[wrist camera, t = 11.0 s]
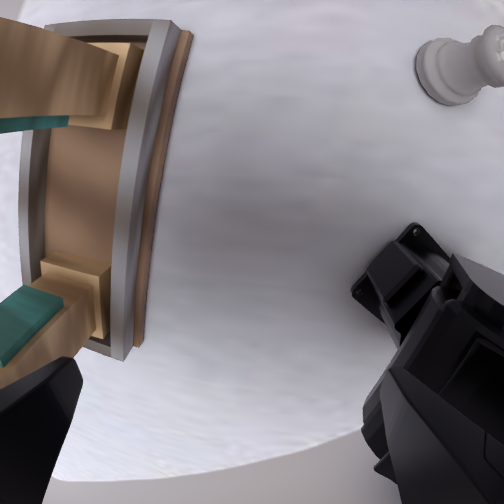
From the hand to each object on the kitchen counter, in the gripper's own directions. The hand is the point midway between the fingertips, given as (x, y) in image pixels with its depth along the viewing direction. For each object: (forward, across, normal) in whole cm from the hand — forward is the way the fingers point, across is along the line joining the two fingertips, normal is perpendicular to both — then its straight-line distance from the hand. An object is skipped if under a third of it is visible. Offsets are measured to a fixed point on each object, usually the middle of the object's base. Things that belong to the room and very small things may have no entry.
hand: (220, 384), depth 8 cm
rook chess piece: (+13, -12, -11) cm, 21 cm away
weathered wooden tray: (+13, +11, -3) cm, 17 cm away
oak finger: (+12, +12, +4) cm, 18 cm away
